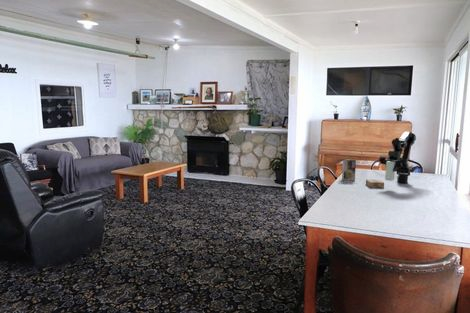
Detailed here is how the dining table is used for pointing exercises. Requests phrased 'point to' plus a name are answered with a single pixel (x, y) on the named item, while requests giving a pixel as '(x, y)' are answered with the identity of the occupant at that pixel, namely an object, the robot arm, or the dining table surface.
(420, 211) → the dining table surface
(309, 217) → the dining table surface
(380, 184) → the walnut base block
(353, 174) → the coffee box
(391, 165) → the sage block
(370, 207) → the dining table surface
